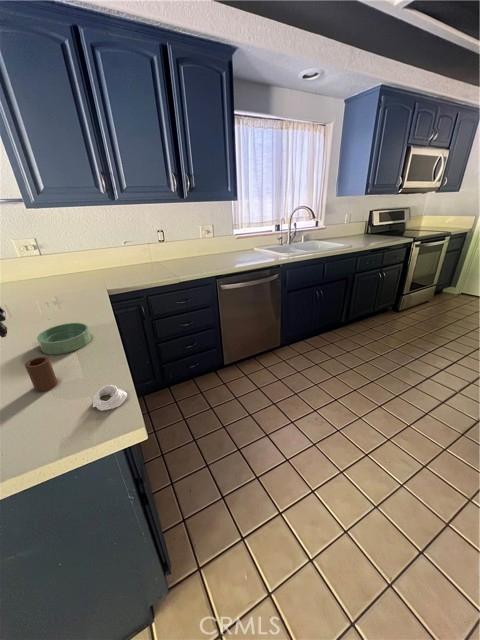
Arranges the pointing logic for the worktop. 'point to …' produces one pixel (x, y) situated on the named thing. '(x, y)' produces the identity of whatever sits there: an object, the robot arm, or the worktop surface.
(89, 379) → the worktop surface
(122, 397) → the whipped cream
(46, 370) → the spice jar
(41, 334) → the bowl
